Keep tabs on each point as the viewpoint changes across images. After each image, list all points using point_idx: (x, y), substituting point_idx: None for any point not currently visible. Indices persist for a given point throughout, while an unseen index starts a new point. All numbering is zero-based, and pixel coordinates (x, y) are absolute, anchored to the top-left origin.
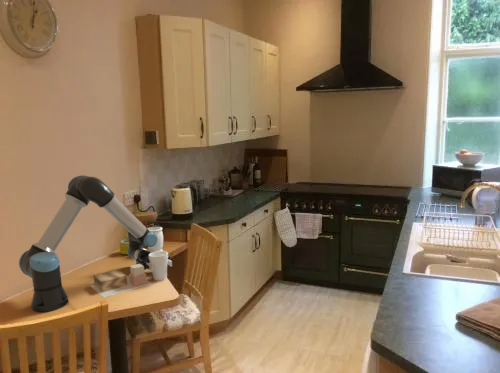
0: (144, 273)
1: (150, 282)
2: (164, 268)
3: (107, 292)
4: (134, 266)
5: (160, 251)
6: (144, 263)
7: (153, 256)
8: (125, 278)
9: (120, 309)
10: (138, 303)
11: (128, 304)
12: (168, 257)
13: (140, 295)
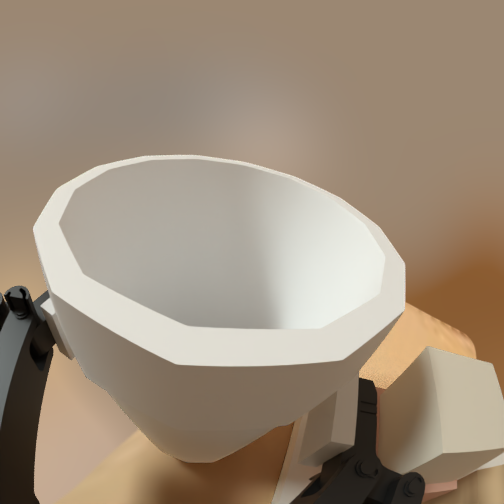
0: (382, 393)
1: (303, 418)
2: (213, 300)
3: (496, 461)
4: (490, 405)
5: (61, 220)
6: (371, 461)
7: (360, 215)
8: (465, 478)
9: (461, 334)
10: (417, 322)
11: (442, 341)
12: (2, 304)
13: (396, 367)
